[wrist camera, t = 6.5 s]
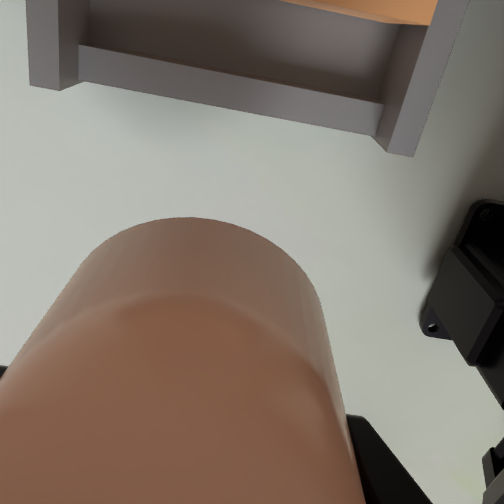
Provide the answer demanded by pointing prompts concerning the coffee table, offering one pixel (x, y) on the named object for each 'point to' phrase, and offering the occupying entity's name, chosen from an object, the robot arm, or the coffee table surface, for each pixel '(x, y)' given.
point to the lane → (252, 59)
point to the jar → (178, 380)
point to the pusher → (378, 9)
